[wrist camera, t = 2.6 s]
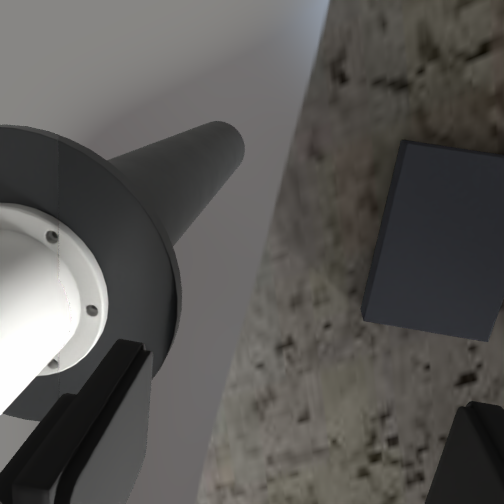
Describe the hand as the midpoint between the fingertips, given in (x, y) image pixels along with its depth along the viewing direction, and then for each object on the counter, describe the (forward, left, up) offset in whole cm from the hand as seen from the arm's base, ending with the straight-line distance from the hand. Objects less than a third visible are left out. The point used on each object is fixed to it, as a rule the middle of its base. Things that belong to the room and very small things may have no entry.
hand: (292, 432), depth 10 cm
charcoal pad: (+10, 0, -18) cm, 20 cm away
